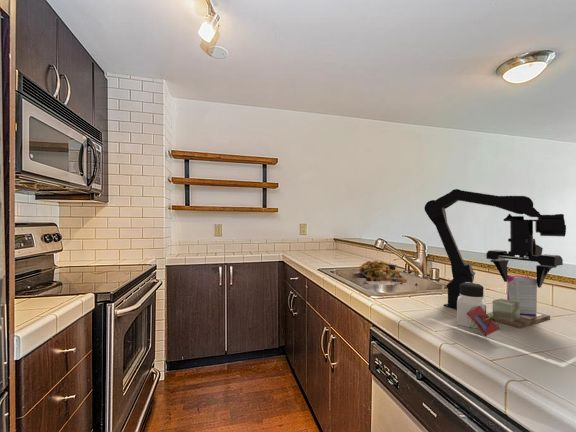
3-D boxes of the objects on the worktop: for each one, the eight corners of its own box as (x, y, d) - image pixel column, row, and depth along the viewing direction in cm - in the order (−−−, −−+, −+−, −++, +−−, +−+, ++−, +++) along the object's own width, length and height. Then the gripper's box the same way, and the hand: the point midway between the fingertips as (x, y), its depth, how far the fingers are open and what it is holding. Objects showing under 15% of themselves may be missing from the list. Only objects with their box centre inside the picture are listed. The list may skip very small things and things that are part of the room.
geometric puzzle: (504, 334, 79) (498, 303, 80) (498, 341, 74) (492, 308, 75) (473, 331, 84) (468, 302, 85) (466, 338, 79) (461, 307, 80)
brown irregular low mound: (351, 273, 174) (351, 255, 174) (396, 273, 173) (396, 255, 173) (363, 287, 139) (363, 264, 139) (419, 288, 138) (419, 264, 138)
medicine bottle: (486, 330, 84) (486, 287, 84) (456, 325, 87) (456, 284, 87) (485, 322, 90) (485, 282, 90) (458, 318, 93) (458, 280, 94)
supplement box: (537, 316, 92) (537, 279, 92) (516, 315, 93) (516, 278, 93) (526, 310, 97) (526, 275, 98) (506, 309, 99) (506, 274, 99)
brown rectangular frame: (519, 328, 85) (519, 307, 85) (483, 317, 94) (483, 298, 94) (550, 318, 93) (550, 299, 93) (514, 309, 102) (513, 292, 102)
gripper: (570, 236, 91) (571, 287, 91) (503, 233, 107) (503, 277, 107) (553, 237, 86) (553, 292, 85) (485, 234, 102) (485, 280, 102)
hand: (521, 284), depth 95 cm, fingers open, 9 cm apart
